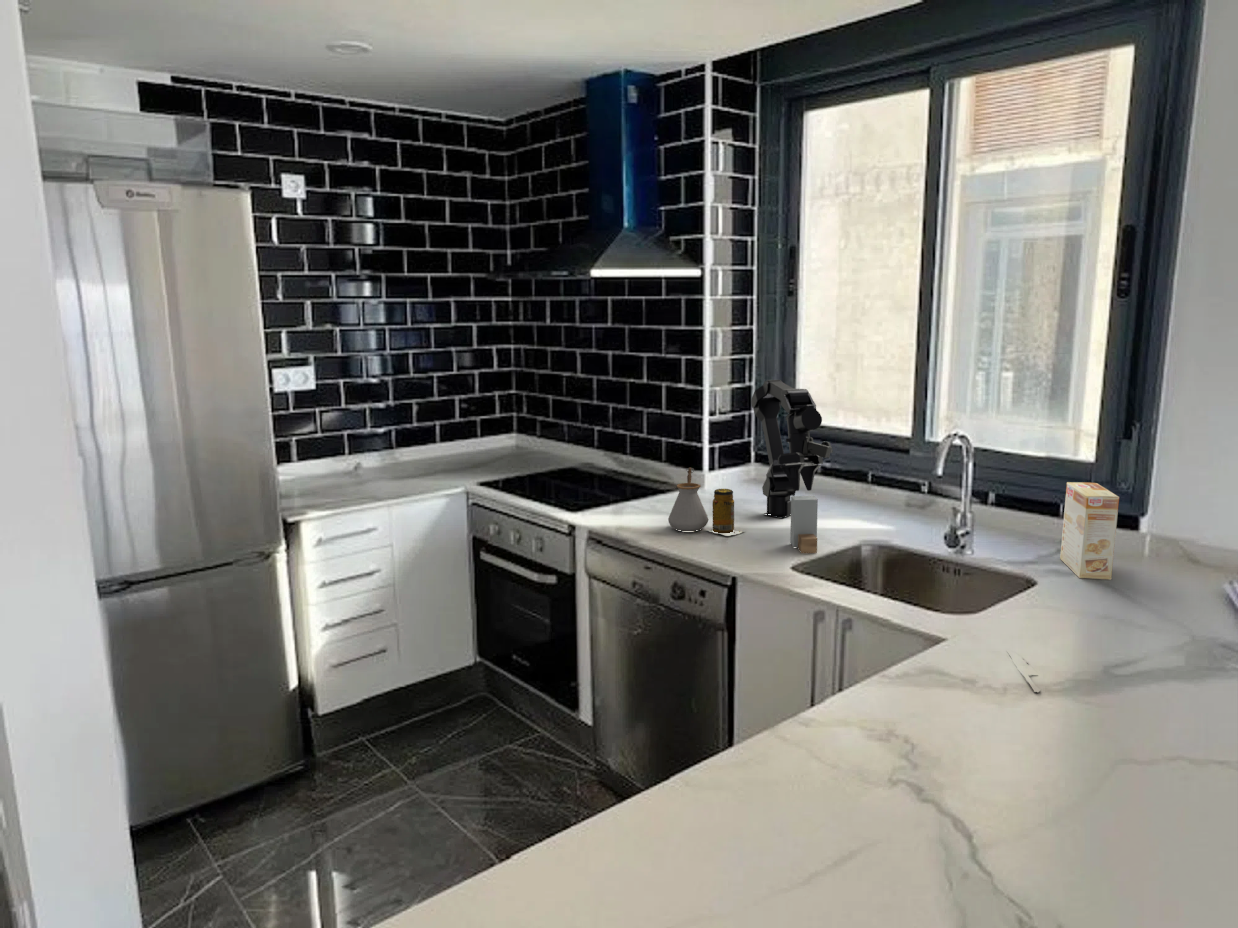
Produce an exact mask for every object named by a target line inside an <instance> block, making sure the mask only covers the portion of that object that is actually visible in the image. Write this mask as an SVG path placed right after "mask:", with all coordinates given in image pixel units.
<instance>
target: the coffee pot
mask: <svg viewBox="0 0 1238 928" xmlns="http://www.w3.org/2000/svg"><path fill="white" fill-rule="evenodd" d="M692 470H693V471H692ZM686 472H687V476H686V480H687V481H686V482H682V483H678V484H676V488H677V489H678V495H677V496H676V498H675V499H676V500H675V502H674V504H673V506H672V508H671V511H670V513H669V516H668V518H667V520H668V523H669V525H670V526H671V527H672V529H674V530H675V529H677V530H681V531H696V530H700V529H702V530H703V528H705V527H706V526H707V525H708V523H709V519H710V518H709V517H708V514H707V512H706V510H705V508H704V506H703V505H704V504H703V503H702V500H701V498H700V496H699V494H698V491H699V490H700V488H701V484H699V483H695V482H692V477H693V476H692V473H694V472H695V469H694V468H693V467H691V466H690V467H688V468H687V469H686Z"/></svg>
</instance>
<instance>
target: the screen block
mask: <svg viewBox="0 0 1238 928" xmlns="http://www.w3.org/2000/svg"><path fill="white" fill-rule="evenodd" d="M790 500H791V515H790V533H789V534H790V539H789V540H790V542H789V544H790V543H791V544H792V545H793V547H798V534H814V535H815V536H816V537H817V536H818V501H819V499H818V498H817V497H816V496H815V495H797V496H796V495H795V496H790ZM817 538H818V537H817ZM791 544H790V545H791ZM793 547H792V548H793Z"/></svg>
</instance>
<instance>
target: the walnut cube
mask: <svg viewBox="0 0 1238 928" xmlns="http://www.w3.org/2000/svg"><path fill="white" fill-rule="evenodd" d="M798 548H799V550H800V551H801V552H800V551H799V550H798V551H799V552H800V554H818V537H816V536H815V535H814V534H798ZM798 548H797V549H798Z"/></svg>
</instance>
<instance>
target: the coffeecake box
mask: <svg viewBox="0 0 1238 928" xmlns="http://www.w3.org/2000/svg"><path fill="white" fill-rule="evenodd" d="M1065 488H1066V489H1065V499H1064V501H1065V502H1064V510H1063V511H1064V512H1063V523H1062V533H1061V534H1062V535H1061V547H1060V557H1059V559H1060V560H1061V561H1062V562H1063V563H1064V564H1065V565H1066V566H1067V567H1068V569H1070V570H1071V571H1072V572H1073V573H1074V574H1075V575H1076V577H1078V578H1079V579H1091V580H1107V581H1108V580H1112V573H1113V564H1114V563H1113V562H1114V554H1115V543H1116V533H1117V525H1118V515H1119V514H1118V512H1119V503H1120V496H1118V495H1117V494H1115V493H1113V492H1112V491H1111V490H1109V489H1107V488H1106V487H1104V486H1102V485H1100V484H1099V483H1097V482H1087V481H1086V482H1085V481H1084V482H1083V481H1082V482H1078V481H1077V482H1070V481H1067V482H1066V487H1065Z"/></svg>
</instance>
